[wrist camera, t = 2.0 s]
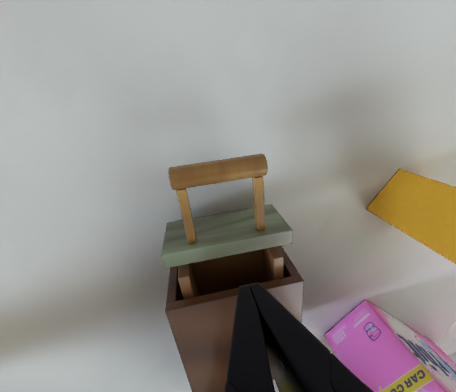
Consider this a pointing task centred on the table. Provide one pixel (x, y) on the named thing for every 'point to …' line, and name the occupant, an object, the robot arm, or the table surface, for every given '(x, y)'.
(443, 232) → the crayon box
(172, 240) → the drawer
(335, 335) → the gum box
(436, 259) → the table surface
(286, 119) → the table surface
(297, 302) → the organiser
